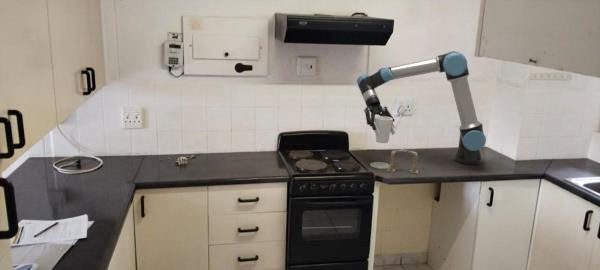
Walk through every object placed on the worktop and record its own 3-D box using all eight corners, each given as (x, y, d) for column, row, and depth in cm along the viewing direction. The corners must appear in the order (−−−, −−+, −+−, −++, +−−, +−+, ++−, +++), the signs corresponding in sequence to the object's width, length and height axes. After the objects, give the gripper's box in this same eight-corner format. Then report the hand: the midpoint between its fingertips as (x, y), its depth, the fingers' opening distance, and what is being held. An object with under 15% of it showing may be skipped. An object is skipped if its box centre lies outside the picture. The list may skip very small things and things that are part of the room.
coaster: (389, 163, 273) (389, 162, 273) (391, 169, 262) (391, 168, 262) (369, 162, 274) (369, 161, 273) (370, 168, 263) (370, 167, 263)
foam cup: (392, 144, 260) (394, 120, 257) (374, 143, 260) (376, 119, 257) (389, 139, 269) (391, 116, 266) (372, 139, 269) (374, 115, 266)
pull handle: (415, 169, 264) (417, 150, 261) (418, 173, 257) (420, 153, 254) (386, 167, 265) (388, 148, 262) (388, 171, 258) (389, 151, 255)
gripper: (384, 103, 279) (399, 136, 269) (351, 104, 269) (365, 139, 259) (391, 95, 273) (406, 129, 263) (357, 96, 263) (372, 131, 253)
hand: (386, 134), depth 261 cm, fingers closed on foam cup, 9 cm apart
